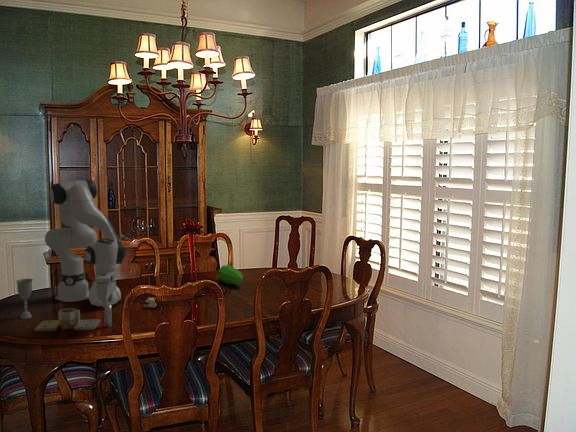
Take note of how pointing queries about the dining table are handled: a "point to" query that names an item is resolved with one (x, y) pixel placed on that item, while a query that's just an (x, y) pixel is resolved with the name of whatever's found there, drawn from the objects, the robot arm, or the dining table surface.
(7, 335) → the dining table surface
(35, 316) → the dining table surface
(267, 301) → the dining table surface
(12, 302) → the dining table surface
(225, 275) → the green ridged rounded cylinder
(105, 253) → the robot arm
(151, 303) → the cat figure
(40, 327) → the hinge
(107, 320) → the pin
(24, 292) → the chalice
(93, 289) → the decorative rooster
